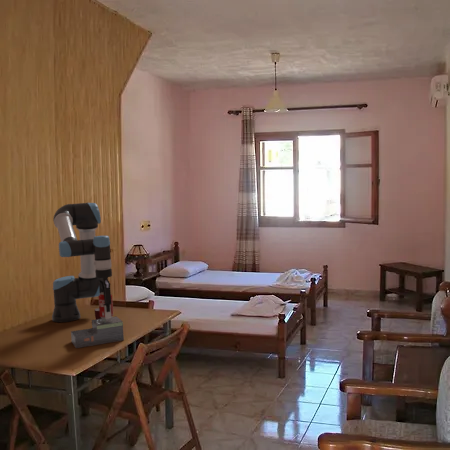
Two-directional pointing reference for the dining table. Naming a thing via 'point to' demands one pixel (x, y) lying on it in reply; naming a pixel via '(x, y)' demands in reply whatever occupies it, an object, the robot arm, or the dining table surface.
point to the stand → (99, 333)
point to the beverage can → (101, 306)
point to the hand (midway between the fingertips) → (106, 316)
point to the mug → (97, 314)
